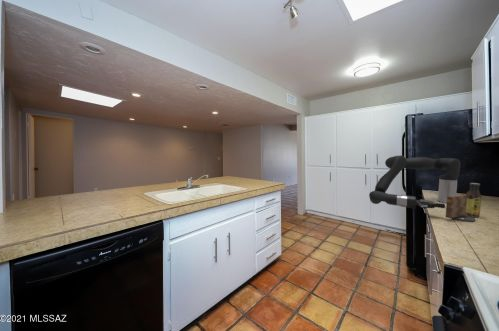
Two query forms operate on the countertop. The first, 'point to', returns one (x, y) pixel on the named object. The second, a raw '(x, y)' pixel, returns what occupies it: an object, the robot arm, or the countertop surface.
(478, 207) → the sauce bottle
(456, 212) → the brown wooden block
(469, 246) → the countertop surface
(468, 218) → the base
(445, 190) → the robot arm
